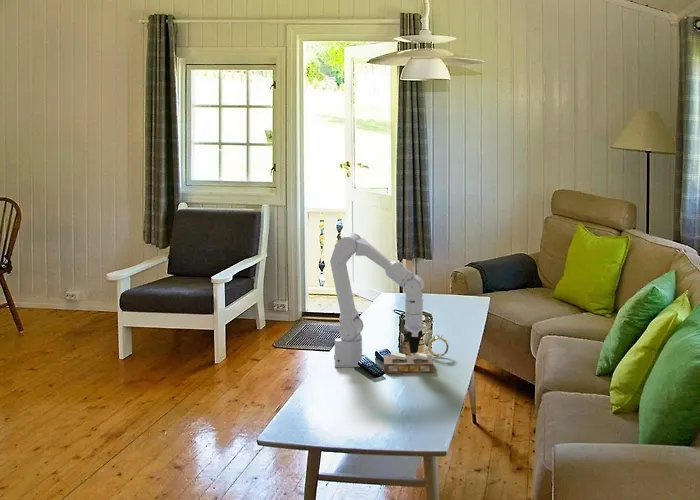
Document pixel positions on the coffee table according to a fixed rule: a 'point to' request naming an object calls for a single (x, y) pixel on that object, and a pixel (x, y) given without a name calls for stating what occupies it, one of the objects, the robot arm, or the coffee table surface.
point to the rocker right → (419, 356)
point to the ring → (435, 340)
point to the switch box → (408, 365)
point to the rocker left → (398, 355)
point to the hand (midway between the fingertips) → (413, 352)
